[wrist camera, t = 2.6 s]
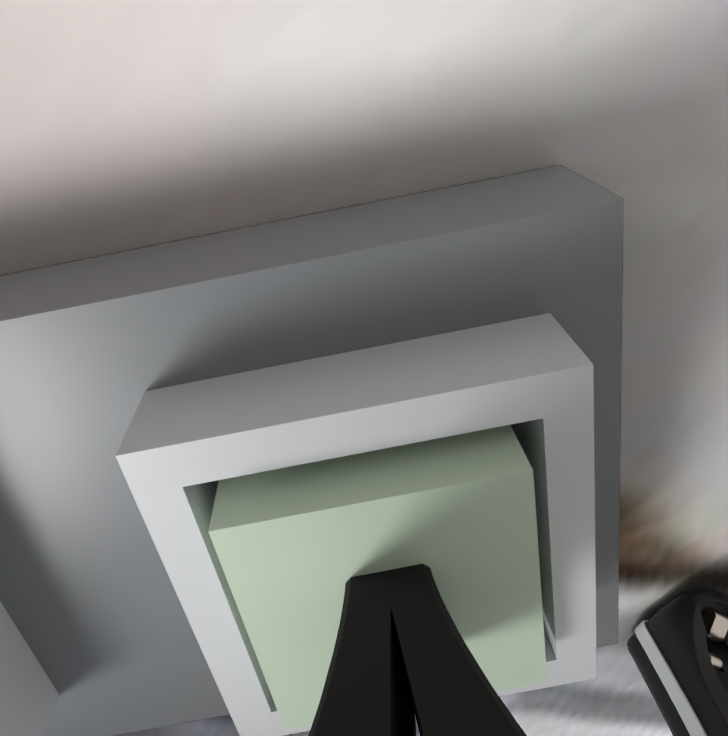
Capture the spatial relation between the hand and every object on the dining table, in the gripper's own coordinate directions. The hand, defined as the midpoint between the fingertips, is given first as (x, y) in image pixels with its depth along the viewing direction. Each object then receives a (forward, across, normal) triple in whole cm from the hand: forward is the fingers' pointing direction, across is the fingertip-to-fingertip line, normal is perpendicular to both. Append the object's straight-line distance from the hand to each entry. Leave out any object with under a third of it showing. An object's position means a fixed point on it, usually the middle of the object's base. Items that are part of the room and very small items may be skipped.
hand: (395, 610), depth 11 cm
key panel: (+6, +6, 0) cm, 8 cm away
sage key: (+1, 0, 0) cm, 1 cm away
